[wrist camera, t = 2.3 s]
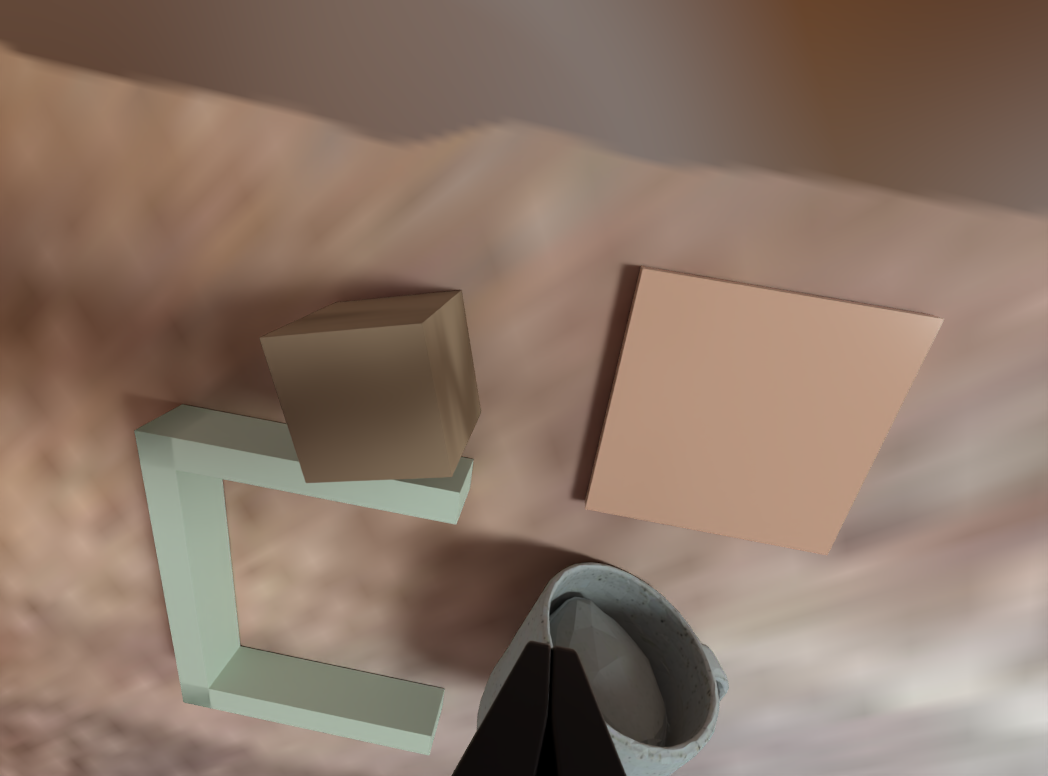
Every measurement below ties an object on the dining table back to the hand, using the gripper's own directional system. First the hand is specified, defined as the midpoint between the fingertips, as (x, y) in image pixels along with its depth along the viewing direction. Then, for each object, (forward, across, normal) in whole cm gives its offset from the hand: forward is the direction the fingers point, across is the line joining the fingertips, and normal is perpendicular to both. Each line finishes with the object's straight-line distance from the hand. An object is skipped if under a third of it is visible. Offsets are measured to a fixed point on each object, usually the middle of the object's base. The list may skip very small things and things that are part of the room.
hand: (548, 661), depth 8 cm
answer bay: (+12, +10, +12) cm, 19 cm away
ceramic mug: (+12, -4, +12) cm, 18 cm away
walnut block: (+12, +6, 0) cm, 14 cm away
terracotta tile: (+12, -7, 0) cm, 14 cm away
